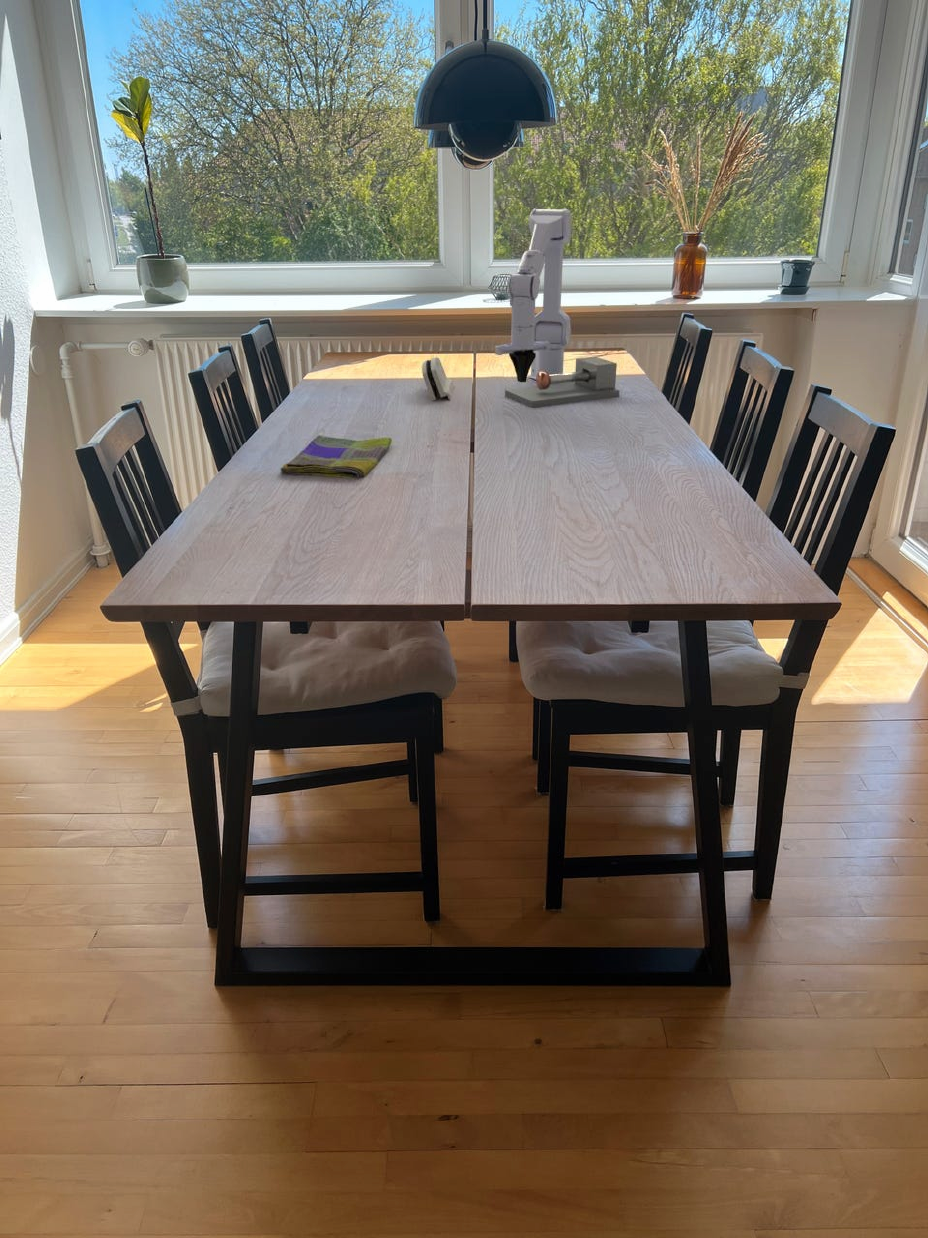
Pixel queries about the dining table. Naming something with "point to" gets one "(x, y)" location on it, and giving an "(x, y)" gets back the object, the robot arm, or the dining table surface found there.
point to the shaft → (559, 378)
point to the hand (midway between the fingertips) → (521, 381)
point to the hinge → (436, 379)
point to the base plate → (557, 394)
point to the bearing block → (597, 373)
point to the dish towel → (338, 457)
